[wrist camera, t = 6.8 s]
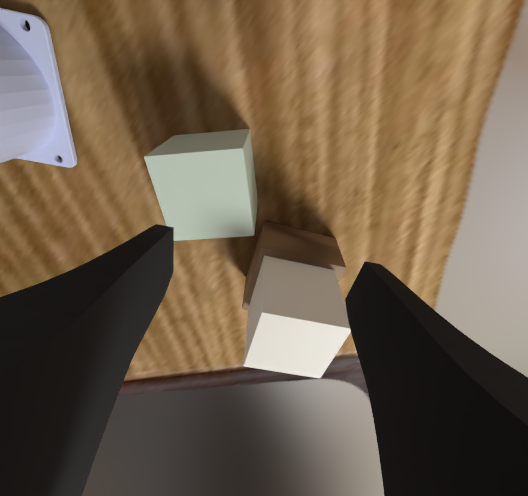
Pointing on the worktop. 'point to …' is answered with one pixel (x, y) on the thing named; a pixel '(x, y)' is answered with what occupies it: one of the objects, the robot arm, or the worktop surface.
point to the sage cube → (206, 184)
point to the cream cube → (295, 319)
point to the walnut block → (292, 252)
